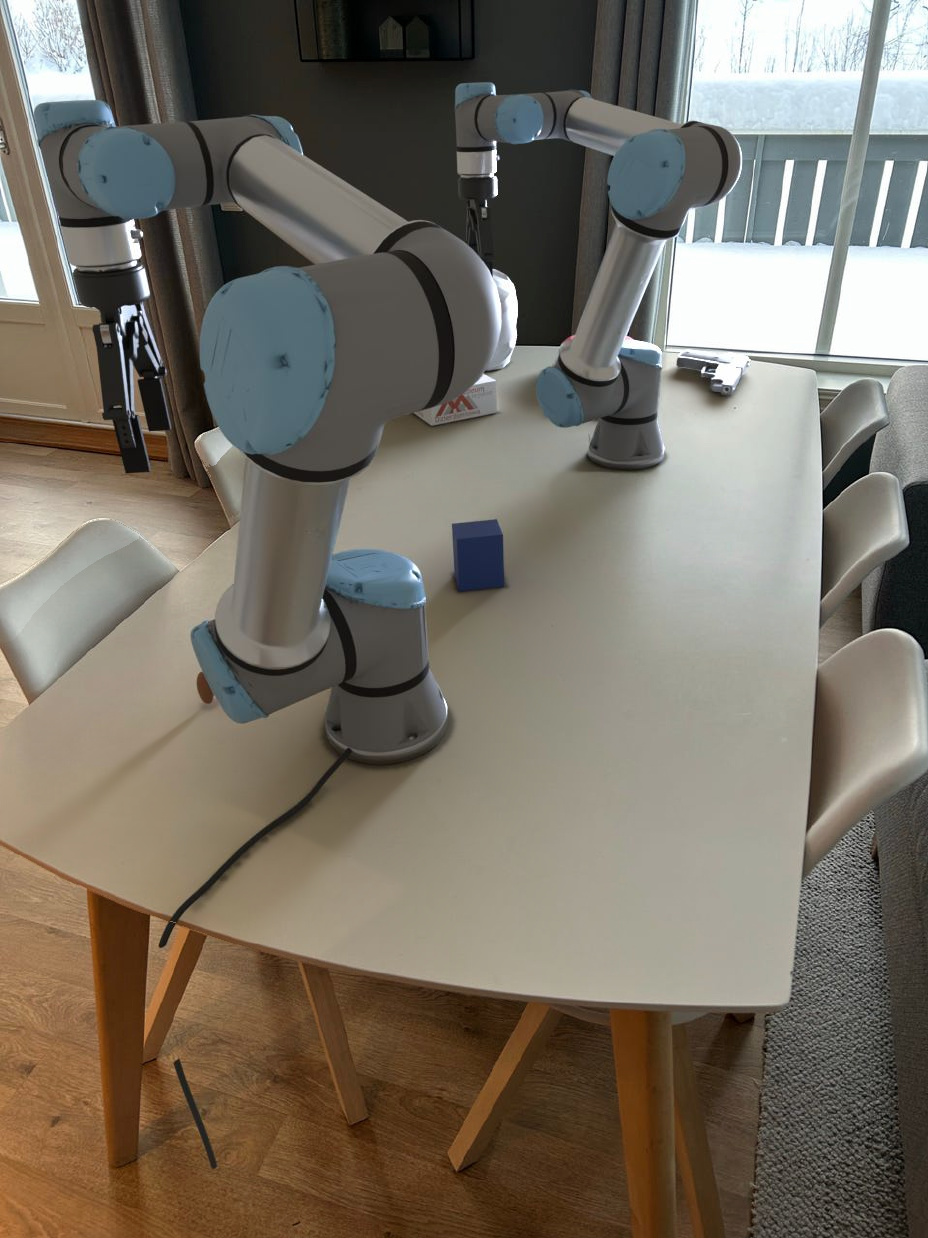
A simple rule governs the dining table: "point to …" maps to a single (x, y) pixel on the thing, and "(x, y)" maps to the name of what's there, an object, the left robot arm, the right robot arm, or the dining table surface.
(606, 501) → the dining table surface
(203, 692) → the brown ellipsoid
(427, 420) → the white cardboard box
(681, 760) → the dining table surface
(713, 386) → the pistol
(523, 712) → the dining table surface
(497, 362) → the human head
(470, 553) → the block
